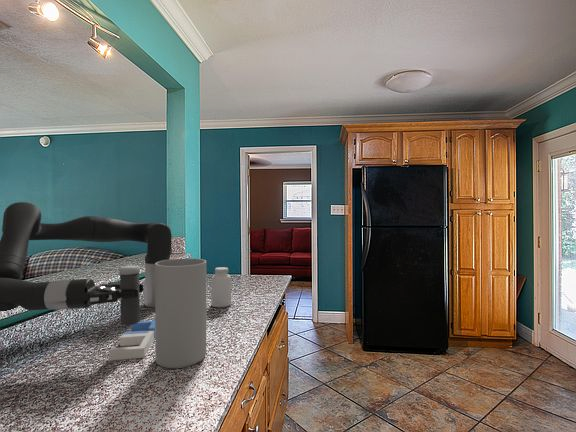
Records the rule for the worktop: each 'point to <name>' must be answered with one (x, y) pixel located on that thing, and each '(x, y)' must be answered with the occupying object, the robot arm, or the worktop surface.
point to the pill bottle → (221, 288)
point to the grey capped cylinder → (129, 305)
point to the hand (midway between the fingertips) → (140, 290)
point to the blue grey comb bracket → (135, 341)
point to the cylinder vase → (180, 312)
